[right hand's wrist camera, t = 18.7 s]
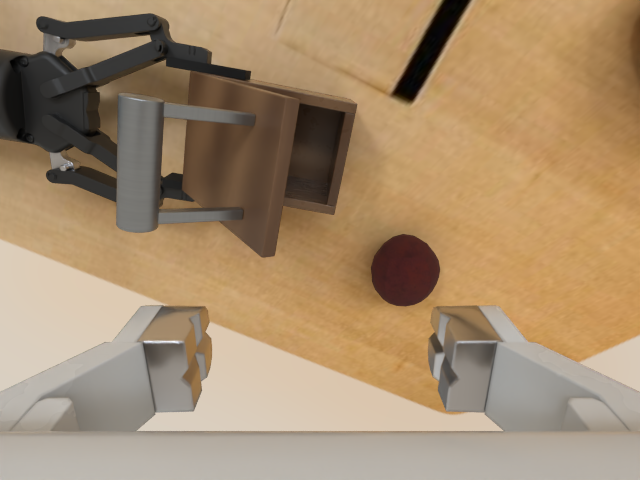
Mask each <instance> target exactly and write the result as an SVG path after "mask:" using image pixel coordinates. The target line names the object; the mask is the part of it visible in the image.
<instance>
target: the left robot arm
mask: <svg viewBox="0 0 640 480" xmlns="http://www.w3.org/2000/svg"><path fill="white" fill-rule="evenodd" d="M36 25H37V27H38V29H39V30H40V31H41V32H43V33H44V44H43V51H42V52H39V53H37V54H34V55H31V54H25V53H19V52H14V51H8V50H2V49H0V139H5V140H11V141H17V142H23V143H29V144H35V145H38V146H40V147H42V148H43V149H45V150H46V151H48V152H49V153H50V159H51V166H52V170H49V171H47V173H46V177H47V179H48V180H49V181H50V182H52V183H61V184H73V185H75V186H78V187H80V188H83V189H85V190H88V191H90V192H92V193H95V194H97V195H100V196H102V197H105V198H107V199H110V200H112V201H115V202H117V179H116V178H114V177H111V176H109V175H106V174H104V173H102V172H99V171H97V170H94V169H92V168H88V167H84V166H80V162H79V161H76V160H75V159H72V158H70V157H69V156H68V155H67V153H66V151H67V150H69V149H70V148H72V147H74V146H75V147H77V148H78V149H80V150H81V151H83V152H84V153H87V154H91V155H93V156H94V157H96V158H97V159H99V160H100V161H102V162H103V163H104V164H106V165H107V166H109V167H110V168H112V169H113V170H115V171H116V172H117V144H115V143H114V142H112V141H111V140H110V138H109V136H107V135H106V134H104V133H103V132H102V131H100V130H99V129H98V128H100V117H99V113H98V106H99V102H100V92H97V90H96V88H97V87H100V86H103V85H105V84H108V83H109V82H110V81H113V80H115V79H118V78H120V77H123V76H125V75H128V74H130V73H133V72H135V71H138V70H140V69H143V68H145V67H148V66H150V65H153V64H156V63H158V62H161V61H163V60H166V66H168V67H174V68H179V69H185V70H191V71H196V72H202V73H209V74H214V75H219V76H225V77H230V78H236V79H242V80H250V75H251V71H246V70H241V69H235V68H229V67H224V66H218V65H212V64H211V57H212V52H210V51H209V50H207V49H205V48H202V47H196V46H191V45H185V44H180V43H176V42H174V41H173V40H172V38H171V36H170V33H169V23H168V22H167V20H166V19H164V18H162V17H159V16H157V15H154V14H140V15H131V16H122V17H112V18H103V19H94V20H84V21H75V22H64V21H60V20H56V19H52V18H48V17H43V16H41V17H39V18H38V19H37V21H36ZM145 35H150V37H151V40H152V42H149V43H147V44H144V45H142V46H139V47H137V48H134V49H132V50H129V51H127V52H125V53H122V54H120V55H117V56H115V57H112V58H110V59H107V60H105V61H102V62H100V63H97V64H95V65H92V66H90V67H85V68H81V69H79V70H78V69H77V68H76V67H74V66H73V65H72V64H71V63H70V62H69V61H68V60H67V59H66V58H64V57H63V56H62V52H63V50H64V49H71V48H73V47H74V45H75V44H76V40H78V41H98V40H107V39H117V38H126V37H136V36H145ZM182 182H183V174H177V173H171V174H169V175H168V176H166V177H162V176H161V182H160V201H159V208H160V207H161V206H162V204H163V200H164V198H173V199H179V200H185V201H191V202H193V201H195V200H193V199H192V198H191V197H190V196H189V195H188V194H186V193H185V192H184V191H183V190H182Z"/></svg>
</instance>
